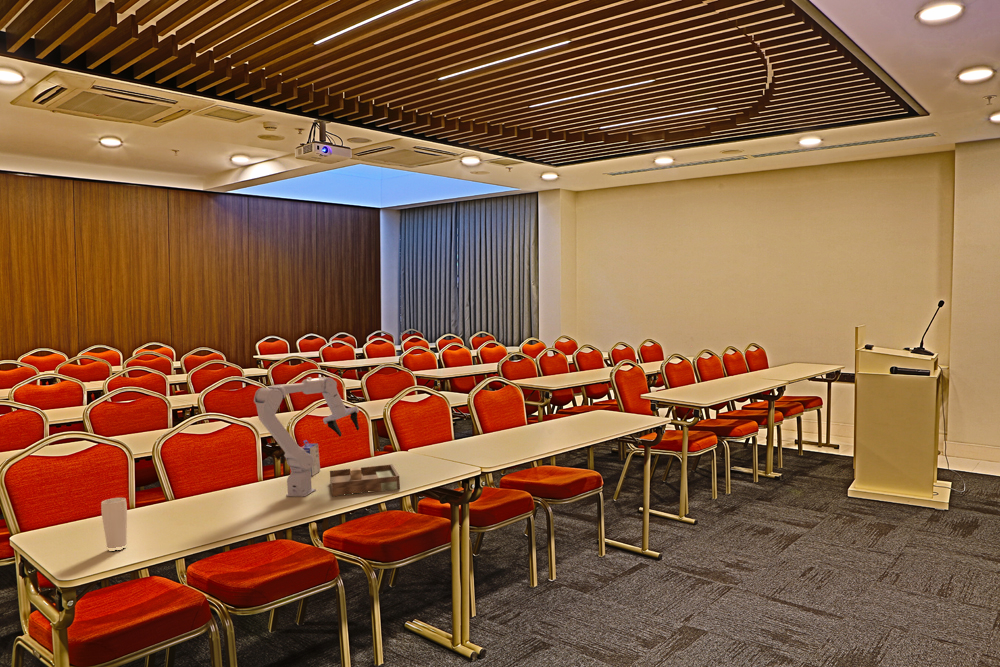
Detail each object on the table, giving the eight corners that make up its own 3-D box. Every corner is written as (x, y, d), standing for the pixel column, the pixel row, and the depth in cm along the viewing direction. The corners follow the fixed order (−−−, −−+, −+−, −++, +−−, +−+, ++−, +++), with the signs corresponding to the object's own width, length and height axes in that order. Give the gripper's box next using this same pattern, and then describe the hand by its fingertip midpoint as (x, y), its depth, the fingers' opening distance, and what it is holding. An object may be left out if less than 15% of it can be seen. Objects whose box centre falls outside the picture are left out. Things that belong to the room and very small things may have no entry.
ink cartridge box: (308, 471, 314) (306, 438, 313) (320, 471, 313) (318, 437, 313) (299, 476, 304) (297, 442, 303) (312, 476, 303) (310, 442, 303)
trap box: (332, 496, 269) (332, 483, 269) (330, 483, 290) (329, 470, 290) (399, 488, 276) (399, 475, 276) (392, 476, 297) (392, 464, 297)
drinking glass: (129, 544, 224) (126, 496, 223) (129, 550, 218) (126, 501, 217) (104, 548, 221) (101, 499, 220) (104, 554, 215) (100, 504, 214)
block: (351, 480, 280) (350, 470, 279) (350, 478, 283) (349, 468, 283) (361, 479, 281) (361, 469, 281) (360, 477, 285) (360, 467, 284)
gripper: (353, 393, 292) (366, 421, 297) (320, 405, 292) (333, 433, 297) (351, 401, 285) (365, 429, 290) (317, 413, 286) (331, 441, 291)
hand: (349, 432), depth 293 cm, fingers open, 7 cm apart
